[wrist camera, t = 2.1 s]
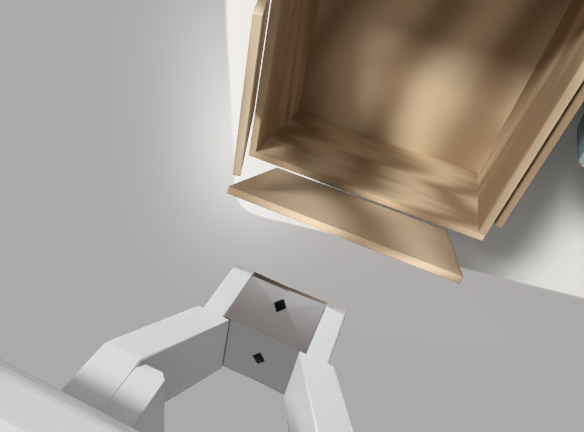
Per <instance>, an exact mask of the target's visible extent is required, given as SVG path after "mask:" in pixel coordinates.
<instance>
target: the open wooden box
mask: <svg viewBox="0 0 584 432" xmlns="http://www.w3.org/2000/svg"><path fill="white" fill-rule="evenodd" d="M583 102H584V0H272V2H271V9H270V16H269V23H268V30H267V36H266V43H265V50H264V57H263V64H262V70H261V77H260V84H259V91H258V98H257V104H256V111H255V118H254V125H253V132H252V138H251V145H250V152H249V155H250V156H253V157H255V158H258V159H261V160H263V161H266V162H269V163H272V164H274V165H277V166H280V167H282V168H285V169H288V170H291V171H293V172H296V173H299V174H301V175H304V176H307V177H310V178H312V179H315V180H318V181H320V182H323V183H326V184H329V185H331V186H334V187H337V188H339V189H342V190H345V191H348V192H350V193H353V194H356V195H359V196H361V197H364V198H367V199H369V200H372V201H375V202H378V203H380V204H383V205H386V206H388V207H391V208H394V209H397V210H399V211H402V212H405V213H407V214H410V215H413V216H416V217H418V218H421V219H424V220H426V221H429V222H432V223H435V224H437V225H440V226H443V227H445V228H448V229H451V230H454V231H456V232H459V233H462V234H464V235H467V236H470V237H473V238H475V239H478V240H481V241H482V240H483V239H484V237H485V236H486V234H487V232H488V231H489V229H490V228H491V226H492V224H493V223H494V221H495V226H498V227H501V228H502V226H503V225H504V223H505V221H506V220H507V218H508V217H509V215H510V214H511V212H512V211H513V209H514V208H515V206H516V205H517V203H518V201H519V200H520V198H521V197H522V195H523V194H524V192H525V191H526V189H527V188H528V186H529V185H530V183H531V182H532V180H533V178H534V177H535V175H536V174H537V172H538V171H539V169H540V168H541V166H542V165H543V163H544V162H545V160H546V159H547V157H548V155H549V154H550V152H551V151H552V149H553V148H554V146H555V145H556V143H557V142H558V140H559V139H560V137H561V136H562V134H563V132H564V131H565V129H566V128H567V126H568V125H569V123H570V122H571V120H572V119H573V117H574V116H575V114H576V112H577V111H578V109H579V108H580V106H581V105H582V103H583Z"/></svg>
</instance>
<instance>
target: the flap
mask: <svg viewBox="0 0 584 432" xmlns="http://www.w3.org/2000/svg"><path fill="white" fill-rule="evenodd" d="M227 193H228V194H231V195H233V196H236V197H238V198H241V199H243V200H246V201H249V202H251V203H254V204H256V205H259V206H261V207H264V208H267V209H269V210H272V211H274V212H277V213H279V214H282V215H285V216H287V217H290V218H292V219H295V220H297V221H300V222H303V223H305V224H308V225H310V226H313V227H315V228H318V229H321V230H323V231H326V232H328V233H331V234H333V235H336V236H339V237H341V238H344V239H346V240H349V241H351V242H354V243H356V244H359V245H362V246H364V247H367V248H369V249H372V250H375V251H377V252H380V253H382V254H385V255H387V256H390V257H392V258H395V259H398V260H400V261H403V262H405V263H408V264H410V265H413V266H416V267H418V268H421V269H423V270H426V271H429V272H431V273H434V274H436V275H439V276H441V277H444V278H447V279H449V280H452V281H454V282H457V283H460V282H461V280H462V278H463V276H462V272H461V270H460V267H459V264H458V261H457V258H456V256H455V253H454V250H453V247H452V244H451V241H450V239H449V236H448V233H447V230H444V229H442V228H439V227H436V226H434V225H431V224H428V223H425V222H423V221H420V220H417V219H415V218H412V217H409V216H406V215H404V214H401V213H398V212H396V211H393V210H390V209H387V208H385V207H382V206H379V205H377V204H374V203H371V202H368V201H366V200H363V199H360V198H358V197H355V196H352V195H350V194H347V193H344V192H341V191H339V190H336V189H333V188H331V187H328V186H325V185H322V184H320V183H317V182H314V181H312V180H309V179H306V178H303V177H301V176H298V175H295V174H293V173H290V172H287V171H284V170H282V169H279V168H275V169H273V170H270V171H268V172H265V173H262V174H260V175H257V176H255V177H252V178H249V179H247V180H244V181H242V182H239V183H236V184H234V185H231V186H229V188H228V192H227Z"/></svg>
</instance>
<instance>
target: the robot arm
mask: <svg viewBox="0 0 584 432" xmlns="http://www.w3.org/2000/svg"><path fill="white" fill-rule="evenodd" d="M326 304H327V305H326ZM324 309H325V310H324ZM345 316H346V311H345V310H343V309H341V308H338V307H336V306H333V305H331V304H329V303H326V302H324V301H322V300H319V299H317V298H314V297H312V296H309V295H307V294H305V293H302V292H300V291H297V290H295V289H292V288H289V287H287V286H284V285H282V284H280V283H278V282H275V281H273V280H271V279H269V278H267V277H264V276H262V275H260V274H258V273H255V272H252V271H250V270H248V269H246V268H244V267H241V266H239V265H237V266H235V267H234V268H233V269H232V270H231V271H230V273H229V274H228V276H227V277H226V278H225V279H224V281H223V282H222V284H221V285H220V286H219V288H218V289H217V290H216V292H215V293H214V294H213V296H212V297H211V298H210V300H209V301H208V302H207V304H206V305H205V306H204V308H202V307H200V306H196V307H194V308H191V309H189V310H186V311H184V312H181V313H178V314H176V315H174V316H171V317H168V318H166V319H164V320H161V321H158V322H156V323H153V324H151V325H148V326H146V327H143V328H141V329H138V330H135V331H133V332H130V333H128V334H125V335H123V336H120V337H118V338H115V339H113V340H110V341H108V342H105V343H104V344H103V345H102V347H101V348H100V349H99V350H98V351H97V352H96V353H95V354H94V355H93V356H92V358H90V359H89V361H88V362H87V363H86V364H85V365H84V366H83V367H82V368H81V369H80V370H79V371H78V372H77V374H76V375H75V376H74V377H73V378H72V379H71V380H70V381H69V382H68V383H67V384H66V385H65V386H64V387H63V389H62V390H59V389H57V388H55V387H53V386H51V385H49V384H47V383H45V382H44V381H42V380H40V379H38V378H36V377H34V376H32V375H30V374H28V373H26V372H24V371H22V370H21V369H18V368H17V367H15V366H13V365H11V364H9V363H7V362H5V361H3V360H1V359H0V432H164V403H165V402H166V401H168V400H170V399H171V398H173V397H175V396H176V395H178V394H180V393H181V392H183V391H184V390H186V389H188V388H189V387H191V386H193V385H194V384H196V383H197V382H199V381H201V380H202V379H204V378H206V377H207V376H209V375H211V374H212V373H214V372H216V371H217V370H218V369H221V367H222V366H224V367H227V368H229V369H231V370H233V371H236V372H238V373H240V374H243V375H245V376H247V377H249V378H252V379H254V380H256V381H258V382H260V383H262V384H264V385H266V386H268V387H270V388H272V389H274V390H276V391H278V392H280V393H282V394H284V401H285V409H286V416H287V425H288V432H353V429H352V426H351V422H350V419H349V415H348V412H347V409H346V405H345V402H344V398H343V395H342V391H341V388H340V384H339V381H338V377H337V374H336V370H335V367H333V366H331V365H329V362H330V359H331V356H332V353H333V350H334V347H335V344H336V342H337V339H338V336H339V333H340V330H341V327H342V324H343V321H344V319H345Z"/></svg>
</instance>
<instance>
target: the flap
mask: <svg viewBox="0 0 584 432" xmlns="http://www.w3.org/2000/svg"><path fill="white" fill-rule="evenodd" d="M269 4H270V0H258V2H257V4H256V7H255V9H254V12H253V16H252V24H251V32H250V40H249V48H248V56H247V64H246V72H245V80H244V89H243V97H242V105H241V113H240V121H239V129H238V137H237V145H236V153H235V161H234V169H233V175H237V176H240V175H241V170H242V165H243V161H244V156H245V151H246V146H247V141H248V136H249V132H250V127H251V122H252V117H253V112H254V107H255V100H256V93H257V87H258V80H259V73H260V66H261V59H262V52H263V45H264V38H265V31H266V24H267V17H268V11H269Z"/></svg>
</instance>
